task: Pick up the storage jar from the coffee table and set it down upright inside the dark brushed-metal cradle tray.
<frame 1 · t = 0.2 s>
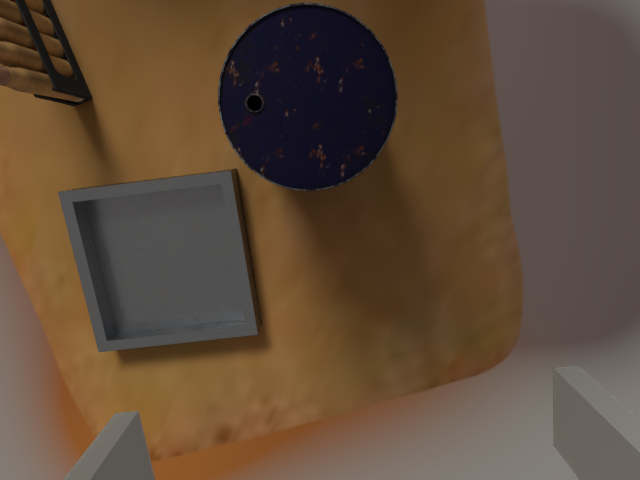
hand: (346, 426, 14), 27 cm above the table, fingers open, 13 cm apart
ammunition clip: (57, 41, 37), on the table
cradle tray: (171, 258, 40), on the table
storage jar: (314, 118, 38), on the table
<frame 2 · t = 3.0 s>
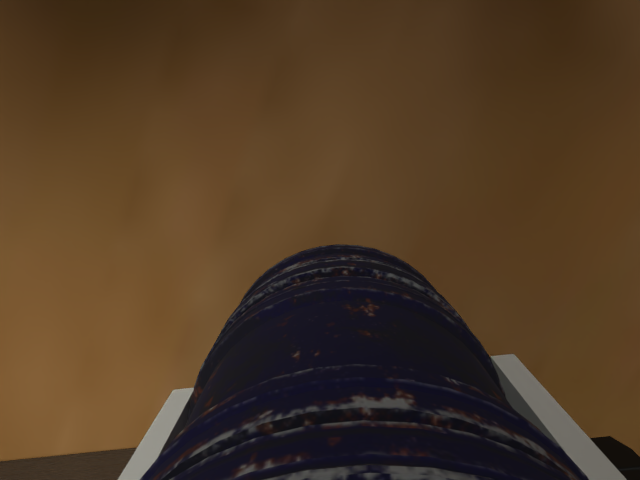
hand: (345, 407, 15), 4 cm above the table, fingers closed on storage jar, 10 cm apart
storage jar: (341, 352, 18), on the table, touching gripper
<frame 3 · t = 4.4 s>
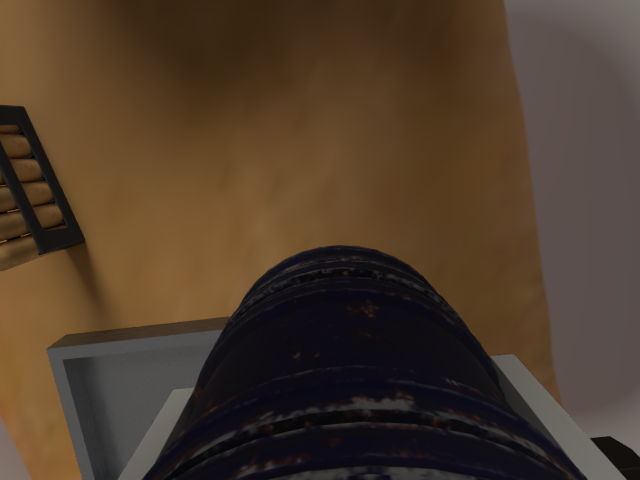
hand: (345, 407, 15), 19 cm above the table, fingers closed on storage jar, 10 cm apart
ammunition clip: (46, 179, 33), on the table
cradle tray: (173, 407, 36), on the table
storage jar: (341, 352, 18), point 15 cm above the table, touching gripper
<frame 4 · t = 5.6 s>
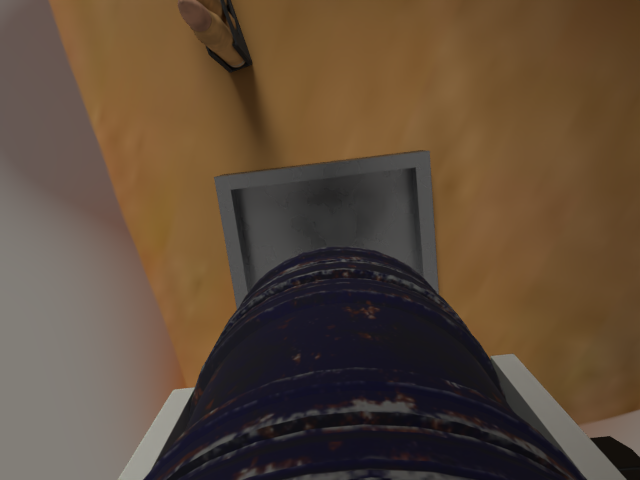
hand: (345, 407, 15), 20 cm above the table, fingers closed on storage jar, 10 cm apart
cradle tray: (332, 258, 34), on the table
storage jar: (341, 353, 18), point 16 cm above the table, touching gripper
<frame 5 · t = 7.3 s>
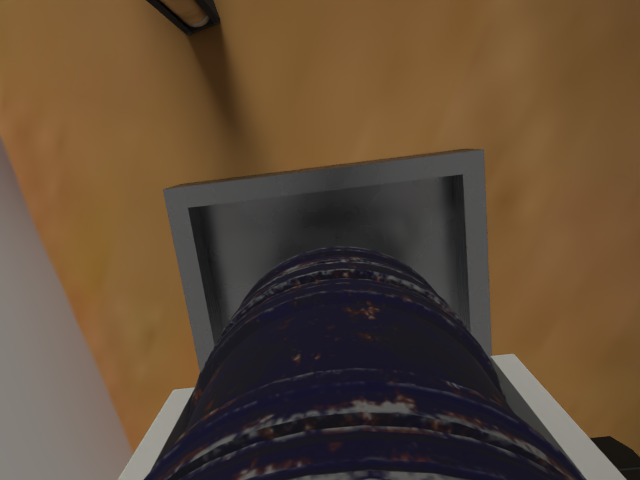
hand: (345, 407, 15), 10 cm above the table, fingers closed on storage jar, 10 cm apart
cradle tray: (337, 301, 24), on the table
storage jar: (341, 354, 18), point 6 cm above the table, touching gripper
when the fingers open (6 cm above the table, at t = 8.6 s): storage jar drops 2 cm, resting on cradle tray.
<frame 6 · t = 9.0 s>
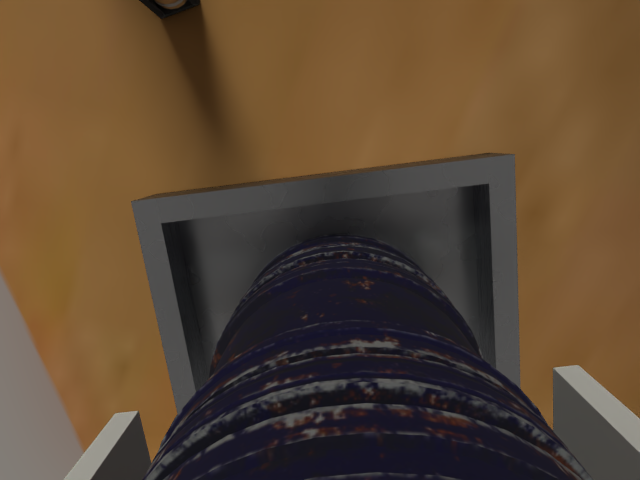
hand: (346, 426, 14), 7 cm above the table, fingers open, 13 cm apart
cradle tray: (339, 329, 21), on the table
storage jar: (341, 332, 20), resting on cradle tray
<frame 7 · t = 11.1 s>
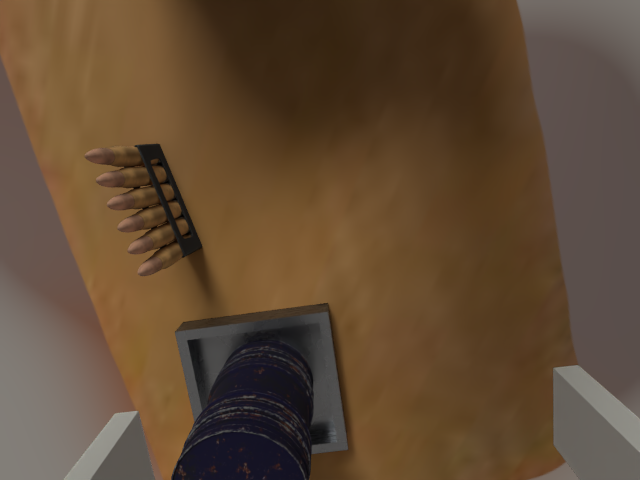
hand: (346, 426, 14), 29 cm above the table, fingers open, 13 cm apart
ammunition clip: (173, 199, 42), on the table
cradle tray: (267, 379, 45), on the table
storage jar: (267, 381, 45), resting on cradle tray
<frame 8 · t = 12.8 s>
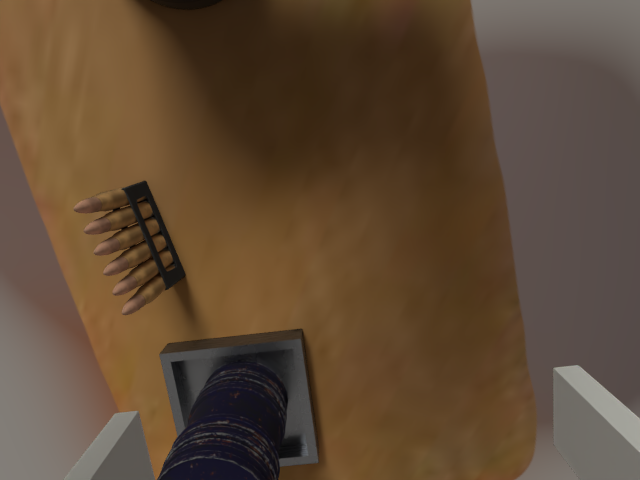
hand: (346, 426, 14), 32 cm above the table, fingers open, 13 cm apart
ammunition clip: (159, 231, 45), on the table
cradle tray: (245, 396, 49), on the table
storage jar: (245, 398, 48), resting on cradle tray
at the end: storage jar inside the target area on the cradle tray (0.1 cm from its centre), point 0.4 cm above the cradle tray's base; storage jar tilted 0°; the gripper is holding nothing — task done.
